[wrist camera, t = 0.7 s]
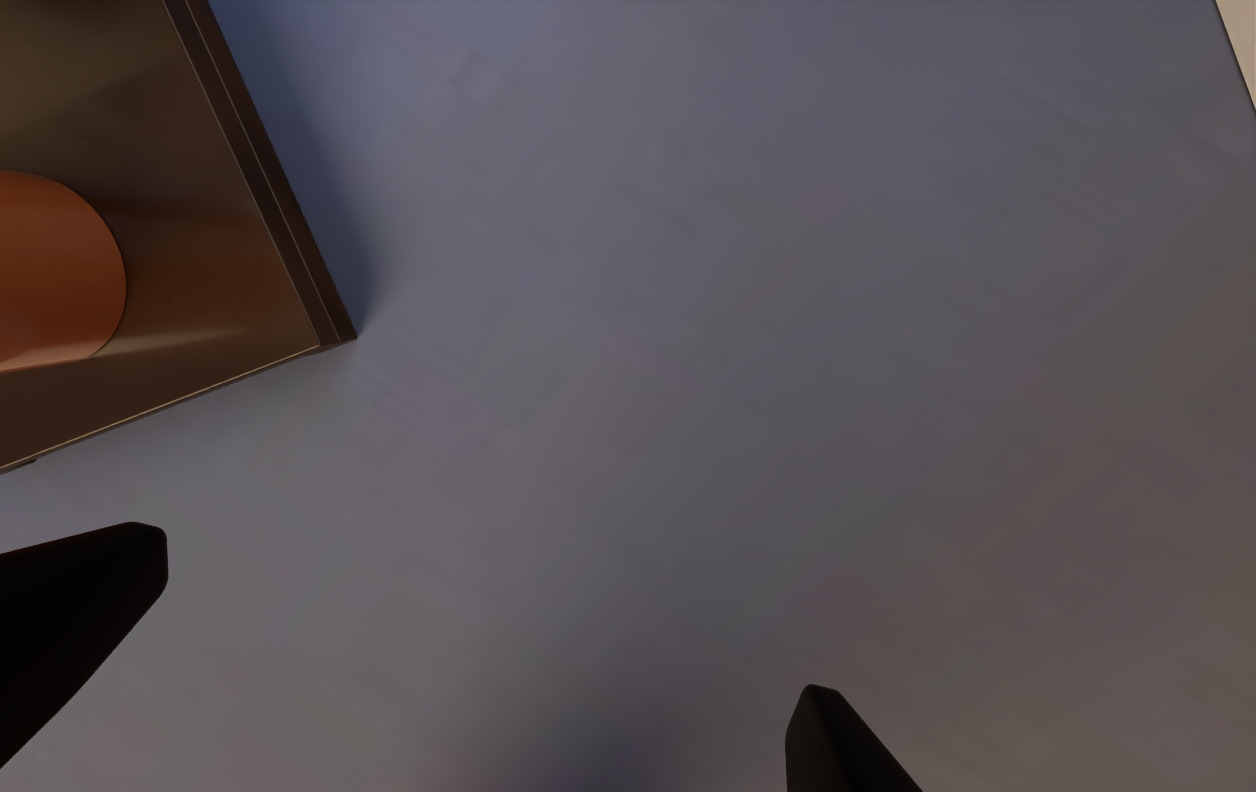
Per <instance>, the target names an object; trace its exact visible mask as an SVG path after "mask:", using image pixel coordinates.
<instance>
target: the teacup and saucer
mask: <svg viewBox="0 0 1256 792" xmlns="http://www.w3.org/2000/svg"><path fill="white" fill-rule="evenodd" d="M1216 3H1217V5H1218V8H1219V11H1220V13H1221V16H1222V19H1223V22H1224V24H1225V27H1226V30H1227V32H1228V35H1229V38H1230V41H1231V43H1232V46H1233V49H1234V52H1235V54H1236V57H1237V60H1238V62H1239V65H1240V68H1241V71H1242V73H1243V76H1244V79H1245V81H1246V84H1247V87H1248V90H1249V92H1250V95H1251V98H1252V100H1253V103H1254V106H1255V109H1256V0H1216Z"/></svg>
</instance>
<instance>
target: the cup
mask: <svg viewBox="0 0 1256 792" xmlns="http://www.w3.org/2000/svg"><path fill="white" fill-rule="evenodd" d="M126 292H127V290H126V274H125V267H124V263H123V260H122V256H121V253H120V250H119V248H118V245H117V243H116V241H115V239H114V237H113V235H112V233H111V231H110V229H109V228H108V227H107V225H106V224H105V222H104V221H103V219H102V218H101V217H100V215H99V214H98V213H97V212H96V211H95V210H94V208H93V207H92V206H91V205H89V204H88V203H87V202H86V201H85V200H84V199H83V198H82V197H80V196H79V195H78V194H76V193H75V192H74V191H73V190H71V189H69V188H68V187H66V186H64V185H62V184H61V183H59V182H57V181H54V180H52V179H50V178H47V177H44V176H41V175H37V174H33V173H27V172H20V171H14V170H8V169H1V168H0V374H4V373H11V372H17V371H24V370H30V369H37V368H43V367H50V366H56V365H63V364H68V363H72V362H76V361H79V360H81V359H84V358H86V357H88V356H90V355H91V354H93V353H94V352H96V351H97V350H99V349H100V348H101V347H102V346H103V345H104V344H105V343H106V342H107V341H108V340H109V339H110V337H111V336H112V335H113V333H114V332H115V330H116V328H117V327H118V325H119V322H120V320H121V317H122V315H123V311H124V307H125V301H126Z"/></svg>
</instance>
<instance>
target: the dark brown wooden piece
mask: <svg viewBox="0 0 1256 792" xmlns="http://www.w3.org/2000/svg"><path fill="white" fill-rule="evenodd" d="M0 168H1V169H8V170H14V171H20V172H27V173H33V174H37V175H41V176H44V177H47V178H50V179H52V180H54V181H57V182H59V183H61V184H62V185H64V186H66V187H68V188H69V189H71V190H73V191H74V192H75V193H76V194H78V195H79V196H80V197H82V198H83V199H84V200H85V201H86V202H87V203H88V204H89V205H91V206H92V207H93V208H94V210H95V211H96V212H97V213H98V214H99V215H100V217H101V218H102V219H103V221H104V222H105V224H106V225H107V227H108V228H109V229H110V231H111V233H112V235H113V237H114V239H115V241H116V243H117V245H118V248H119V250H120V253H121V256H122V260H123V263H124V267H125V274H126V290H127V292H126V301H125V307H124V311H123V315H122V317H121V320H120V322H119V325H118V327H117V328H116V330H115V332H114V333H113V335H112V336H111V337H110V339H109V340H108V341H107V342H106V343H105V344H104V345H103V346H102V347H101V348H100V349H99V350H97V351H96V352H94V353H93V354H91V355H90V356H88V357H86V358H84V359H81V360H79V361H76V362H72V363H68V364H63V365H56V366H50V367H43V368H37V369H30V370H24V371H17V372H11V373H4V374H0V475H1V474H4V473H7V472H10V471H12V470H15V469H18V468H20V467H23V466H25V465H28V464H31V463H33V462H35V461H36V458H39V457H42V456H44V455H47V454H50V453H52V452H55V451H57V450H60V449H63V448H65V447H68V446H70V445H73V444H76V443H78V442H81V441H83V440H86V439H89V438H91V437H94V436H97V435H99V434H102V433H104V432H107V431H110V430H112V429H115V428H117V427H120V426H123V425H125V424H128V423H130V422H133V421H136V420H138V419H141V418H144V417H146V416H149V415H151V414H154V413H157V412H159V411H162V410H164V409H167V408H170V407H172V406H175V405H177V404H180V403H183V402H185V401H188V400H191V399H193V398H196V397H198V396H201V395H204V394H206V393H209V392H211V391H214V390H217V389H219V388H222V387H224V386H227V385H230V384H232V383H235V382H238V381H240V380H243V379H245V378H248V377H251V376H253V375H256V374H258V373H261V372H264V371H266V370H269V369H272V368H274V367H277V366H279V365H282V364H285V363H287V362H290V361H292V360H295V359H298V358H300V357H303V356H308V355H312V354H317V353H321V352H324V351H326V350H329V349H332V348H334V347H337V346H340V345H342V344H345V343H347V342H350V341H353V340H355V339H357V338H358V337H357V334H356V332H355V330H354V328H353V325H352V323H351V321H350V319H349V316H348V314H347V312H346V310H345V307H344V305H343V303H342V301H341V298H340V296H339V294H338V292H337V290H336V287H335V285H334V283H333V281H332V278H331V276H330V274H329V272H328V269H327V267H326V265H325V263H324V260H323V258H322V256H321V254H320V251H319V249H318V247H317V245H316V242H315V240H314V238H313V236H312V234H311V231H310V229H309V227H308V225H307V222H306V220H305V218H304V216H303V213H302V211H301V209H300V207H299V204H298V202H297V200H296V198H295V195H294V193H293V191H292V189H291V187H290V184H289V182H288V180H287V178H286V175H285V173H284V171H283V169H282V166H281V164H280V162H279V160H278V157H277V155H276V153H275V151H274V148H273V146H272V144H271V142H270V140H269V137H268V135H267V133H266V131H265V128H264V126H263V124H262V122H261V119H260V117H259V115H258V113H257V110H256V108H255V106H254V104H253V101H252V99H251V97H250V95H249V93H248V90H247V88H246V86H245V84H244V81H243V79H242V77H241V75H240V72H239V70H238V68H237V66H236V63H235V61H234V59H233V57H232V54H231V52H230V50H229V48H228V45H227V43H226V41H225V39H224V37H223V34H222V32H221V30H220V28H219V25H218V23H217V21H216V19H215V16H214V14H213V12H212V10H211V7H210V5H209V3H208V1H207V0H0Z"/></svg>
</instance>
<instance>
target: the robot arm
mask: <svg viewBox="0 0 1256 792" xmlns="http://www.w3.org/2000/svg"><path fill="white" fill-rule="evenodd" d="M167 581H168V555H167V537H166V534H165V532H164V531H163V530H162V529H160V528H159V527H155V526H151V525H147V524H143V523H139V522H125V523H121V524H117V525H113V526H109V527H105V528H101V529H97V530H93V531H89V532H86V533H82V534H78V535H74V536H70V537H66V538H62V539H58V540H54V541H50V542H46V543H42V544H38V545H34V546H30V547H26V548H22V549H18V550H14V551H10V552H6V553H2V554H0V769H1V768H2V767H3V766H4V765H5V764H6V763H7V762H8V761H9V760H10V759H11V758H12V757H13V756H14V755H15V754H16V753H17V752H18V751H19V750H20V749H21V748H22V747H23V746H24V745H25V744H26V743H27V742H28V741H29V740H30V739H31V738H32V737H33V736H34V735H35V734H36V733H37V732H38V731H39V730H40V729H41V728H42V727H43V726H44V725H45V724H46V723H47V722H48V721H49V720H50V719H52V718H53V717H54V716H55V715H56V714H57V713H58V711H59V710H60V709H61V708H62V707H63V706H64V705H65V704H66V703H67V702H68V701H69V700H70V699H71V698H72V697H73V696H74V695H75V694H76V693H77V692H78V691H79V689H80V688H81V687H82V686H83V685H84V684H85V683H86V682H87V681H88V679H89V678H90V677H91V676H92V675H93V674H94V673H95V671H96V670H97V669H98V668H99V667H100V666H101V664H102V663H103V662H104V661H105V660H106V659H107V657H108V656H109V655H110V654H111V653H112V652H113V650H114V649H115V648H116V647H117V646H118V645H119V644H120V642H121V641H122V640H123V639H124V638H125V637H126V635H127V634H128V633H129V632H130V631H131V630H132V628H133V627H134V626H135V625H136V624H137V623H138V621H139V620H140V619H141V618H142V617H143V616H144V614H145V613H146V612H147V611H148V610H149V609H150V607H151V606H152V605H153V604H154V603H155V602H156V600H157V599H158V598H159V597H160V596H161V594H162V593H163V591H164V589H165V587H166V585H167ZM785 754H786V775H787V792H923V791H922V790H921V789H920V788H919V786H918V785H917V784H916V783H915V782H914V781H913V779H912V778H911V777H910V776H909V775H908V773H907V772H906V771H905V770H904V769H903V767H902V766H901V765H900V764H899V763H898V761H897V760H896V759H895V758H894V757H893V755H892V754H891V753H890V752H889V751H888V749H887V748H886V747H885V746H884V745H883V744H882V742H881V741H880V740H879V739H878V738H877V736H876V735H875V734H874V733H873V732H872V730H871V729H870V728H869V727H868V726H867V724H866V723H865V722H864V721H863V720H862V718H861V717H860V716H859V715H858V714H857V712H856V711H855V710H854V709H853V708H852V707H851V705H850V704H849V703H848V702H847V701H846V699H845V698H844V697H843V696H842V695H841V694H840V693H839V692H838V691H837V690H834V689H831V688H827V687H823V686H818V685H814V684H809V685H807V686H806V687H805V688H804V689H803V691H802V693H801V696H800V698H799V701H798V703H797V705H796V708H795V710H794V713H793V715H792V718H791V720H790V722H789V725H788V728H787V732H786V738H785Z"/></svg>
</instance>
